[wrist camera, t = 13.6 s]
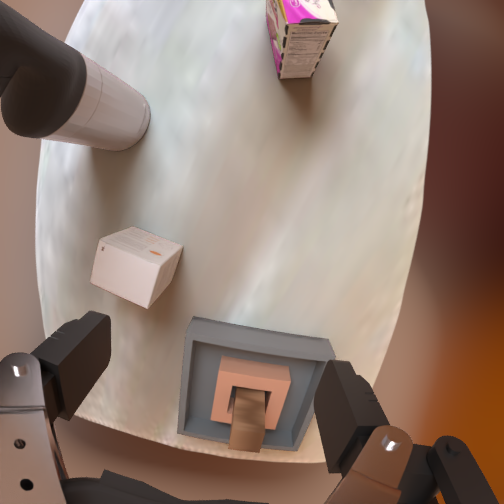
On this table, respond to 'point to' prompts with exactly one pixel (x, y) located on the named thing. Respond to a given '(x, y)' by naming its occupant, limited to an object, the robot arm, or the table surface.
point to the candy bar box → (299, 34)
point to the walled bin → (249, 380)
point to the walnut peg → (247, 420)
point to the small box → (135, 265)
